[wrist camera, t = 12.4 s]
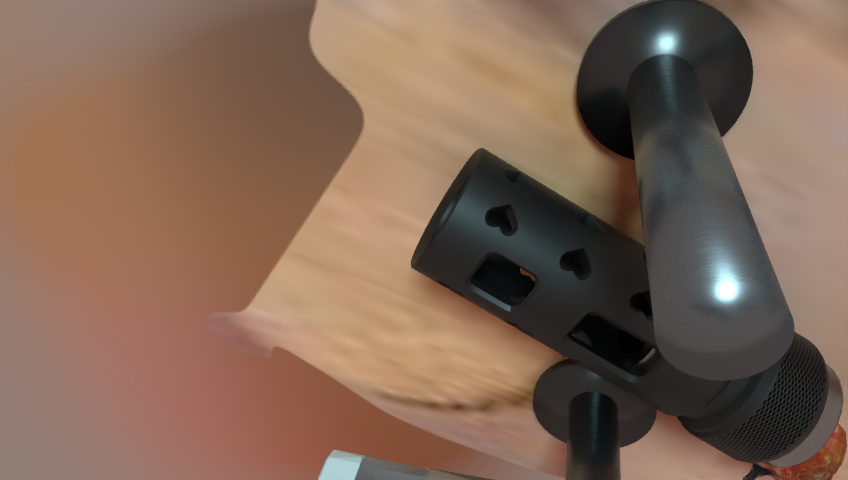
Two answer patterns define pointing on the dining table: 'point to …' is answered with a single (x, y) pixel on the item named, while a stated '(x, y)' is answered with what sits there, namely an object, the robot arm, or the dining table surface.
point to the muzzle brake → (612, 313)
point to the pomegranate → (809, 463)
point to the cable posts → (673, 219)
